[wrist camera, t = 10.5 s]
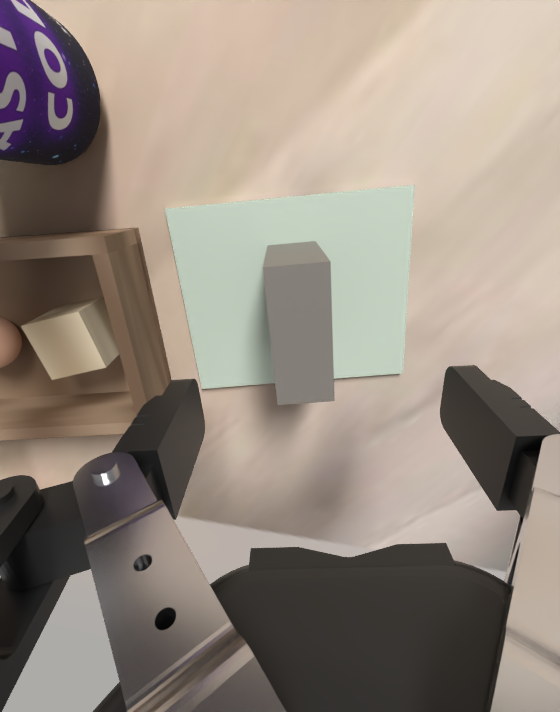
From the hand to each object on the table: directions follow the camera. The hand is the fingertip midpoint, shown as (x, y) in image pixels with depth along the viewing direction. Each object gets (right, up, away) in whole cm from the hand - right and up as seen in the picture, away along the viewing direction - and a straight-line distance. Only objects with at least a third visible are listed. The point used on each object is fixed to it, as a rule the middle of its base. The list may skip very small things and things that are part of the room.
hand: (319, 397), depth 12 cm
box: (-14, +3, +9) cm, 17 cm away
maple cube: (-12, +3, +9) cm, 15 cm away
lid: (0, +5, +9) cm, 10 cm away
